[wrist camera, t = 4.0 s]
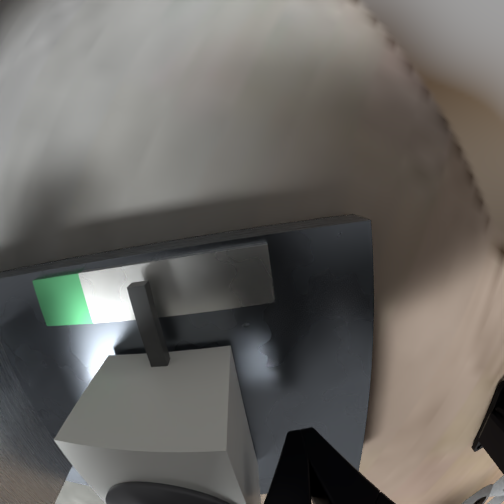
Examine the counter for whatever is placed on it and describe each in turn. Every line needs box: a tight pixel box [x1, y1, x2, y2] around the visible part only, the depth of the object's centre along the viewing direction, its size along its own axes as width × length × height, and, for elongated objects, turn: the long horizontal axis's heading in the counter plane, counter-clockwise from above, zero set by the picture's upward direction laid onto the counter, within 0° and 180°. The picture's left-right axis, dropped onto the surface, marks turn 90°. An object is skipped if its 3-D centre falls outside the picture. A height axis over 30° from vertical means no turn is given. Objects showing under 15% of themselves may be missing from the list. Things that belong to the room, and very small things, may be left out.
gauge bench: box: [0, 214, 374, 504], centre depth 7 cm, size 18×12×8 cm
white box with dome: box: [54, 280, 261, 504], centre depth 7 cm, size 6×8×4 cm, turn 8°
